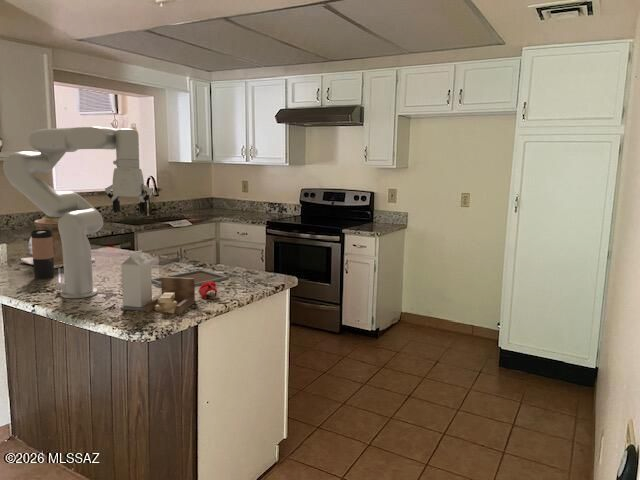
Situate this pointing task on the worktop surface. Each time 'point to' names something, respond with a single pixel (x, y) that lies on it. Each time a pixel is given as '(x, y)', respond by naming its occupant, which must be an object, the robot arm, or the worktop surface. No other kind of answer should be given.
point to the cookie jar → (52, 225)
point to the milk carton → (136, 280)
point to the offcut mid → (168, 304)
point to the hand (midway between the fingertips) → (129, 212)
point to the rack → (176, 293)
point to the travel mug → (42, 254)
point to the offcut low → (160, 308)
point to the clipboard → (195, 277)
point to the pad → (133, 308)
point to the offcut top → (167, 297)
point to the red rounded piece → (207, 288)
